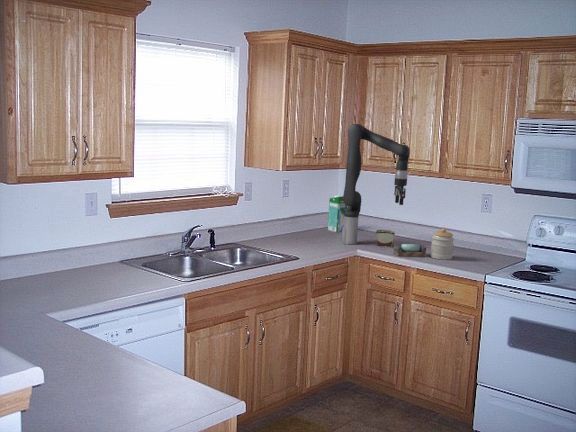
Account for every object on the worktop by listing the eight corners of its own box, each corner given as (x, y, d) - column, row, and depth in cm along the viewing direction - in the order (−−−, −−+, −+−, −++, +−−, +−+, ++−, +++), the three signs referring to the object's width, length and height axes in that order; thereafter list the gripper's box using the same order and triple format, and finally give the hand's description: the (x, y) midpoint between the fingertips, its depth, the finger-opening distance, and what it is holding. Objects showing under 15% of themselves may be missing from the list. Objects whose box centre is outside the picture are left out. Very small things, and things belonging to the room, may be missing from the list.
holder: (397, 256, 392) (398, 247, 391) (393, 253, 400) (394, 244, 400) (425, 257, 394) (426, 247, 393) (420, 253, 403) (421, 244, 402)
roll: (404, 248, 393) (402, 242, 396) (402, 254, 396) (400, 248, 400) (420, 248, 394) (418, 242, 398) (418, 254, 398) (416, 248, 401)
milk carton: (336, 229, 473) (338, 194, 469) (345, 231, 466) (348, 196, 462) (327, 230, 467) (329, 194, 463) (336, 232, 460) (338, 196, 456)
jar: (449, 261, 386) (451, 231, 384) (427, 257, 393) (429, 228, 390) (455, 257, 398) (457, 228, 395) (433, 254, 404) (436, 225, 401)
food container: (393, 245, 424) (394, 230, 422) (394, 247, 418) (395, 231, 416) (374, 244, 425) (375, 228, 424) (374, 246, 419) (375, 230, 417)
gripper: (391, 176, 414) (389, 202, 416) (398, 178, 400) (396, 205, 403) (403, 176, 415) (401, 202, 418) (410, 179, 401) (408, 205, 404)
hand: (399, 203), depth 410 cm, fingers open, 8 cm apart
